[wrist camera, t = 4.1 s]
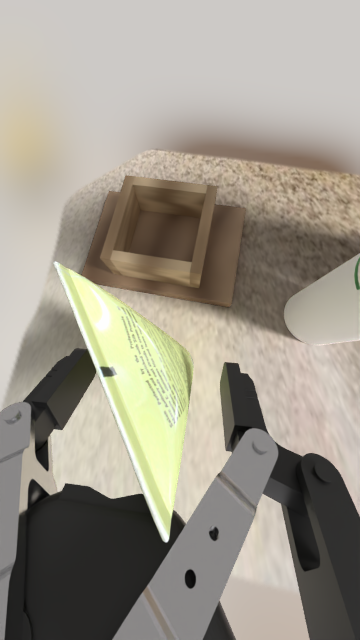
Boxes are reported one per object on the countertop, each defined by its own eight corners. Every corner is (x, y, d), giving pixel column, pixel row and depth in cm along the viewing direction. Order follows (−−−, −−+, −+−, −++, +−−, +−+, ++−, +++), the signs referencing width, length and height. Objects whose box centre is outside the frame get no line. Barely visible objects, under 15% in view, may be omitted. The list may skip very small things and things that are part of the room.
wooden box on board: (242, 216, 28) (255, 181, 22) (229, 307, 25) (239, 292, 20) (112, 199, 30) (95, 163, 24) (86, 282, 27) (60, 262, 21)
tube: (143, 375, 24) (-51, 435, 5) (158, 337, 25) (50, 255, 6) (185, 393, 23) (167, 549, 4) (200, 353, 24) (241, 321, 5)
